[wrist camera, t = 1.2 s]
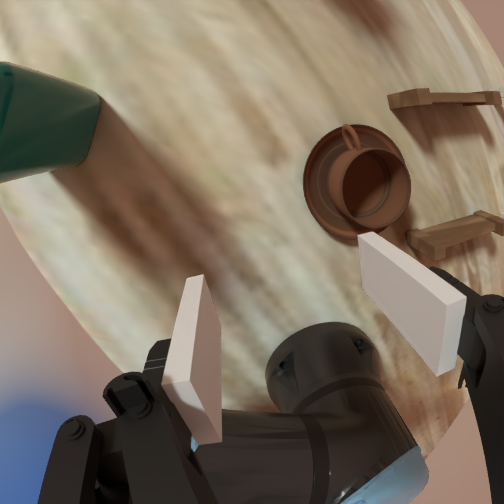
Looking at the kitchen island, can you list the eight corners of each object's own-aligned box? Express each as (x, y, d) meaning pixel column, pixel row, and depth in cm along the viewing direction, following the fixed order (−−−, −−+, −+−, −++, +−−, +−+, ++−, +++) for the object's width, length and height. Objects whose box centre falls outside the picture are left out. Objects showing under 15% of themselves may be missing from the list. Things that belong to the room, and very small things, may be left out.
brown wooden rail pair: (480, 221, 34) (509, 233, 29) (407, 243, 34) (434, 261, 29) (468, 93, 28) (499, 91, 23) (387, 95, 28) (416, 88, 23)
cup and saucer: (274, 176, 31) (286, 183, 25) (355, 103, 29) (382, 96, 23) (345, 255, 34) (367, 277, 29) (415, 186, 32) (447, 195, 26)
